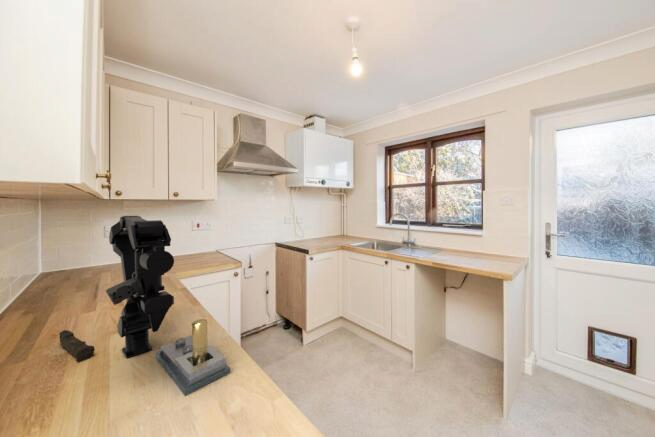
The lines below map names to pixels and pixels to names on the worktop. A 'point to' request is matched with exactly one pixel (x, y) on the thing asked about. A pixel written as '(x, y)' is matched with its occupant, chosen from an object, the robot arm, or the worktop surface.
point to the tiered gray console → (191, 365)
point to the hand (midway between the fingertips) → (149, 325)
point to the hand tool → (76, 346)
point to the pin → (199, 341)
